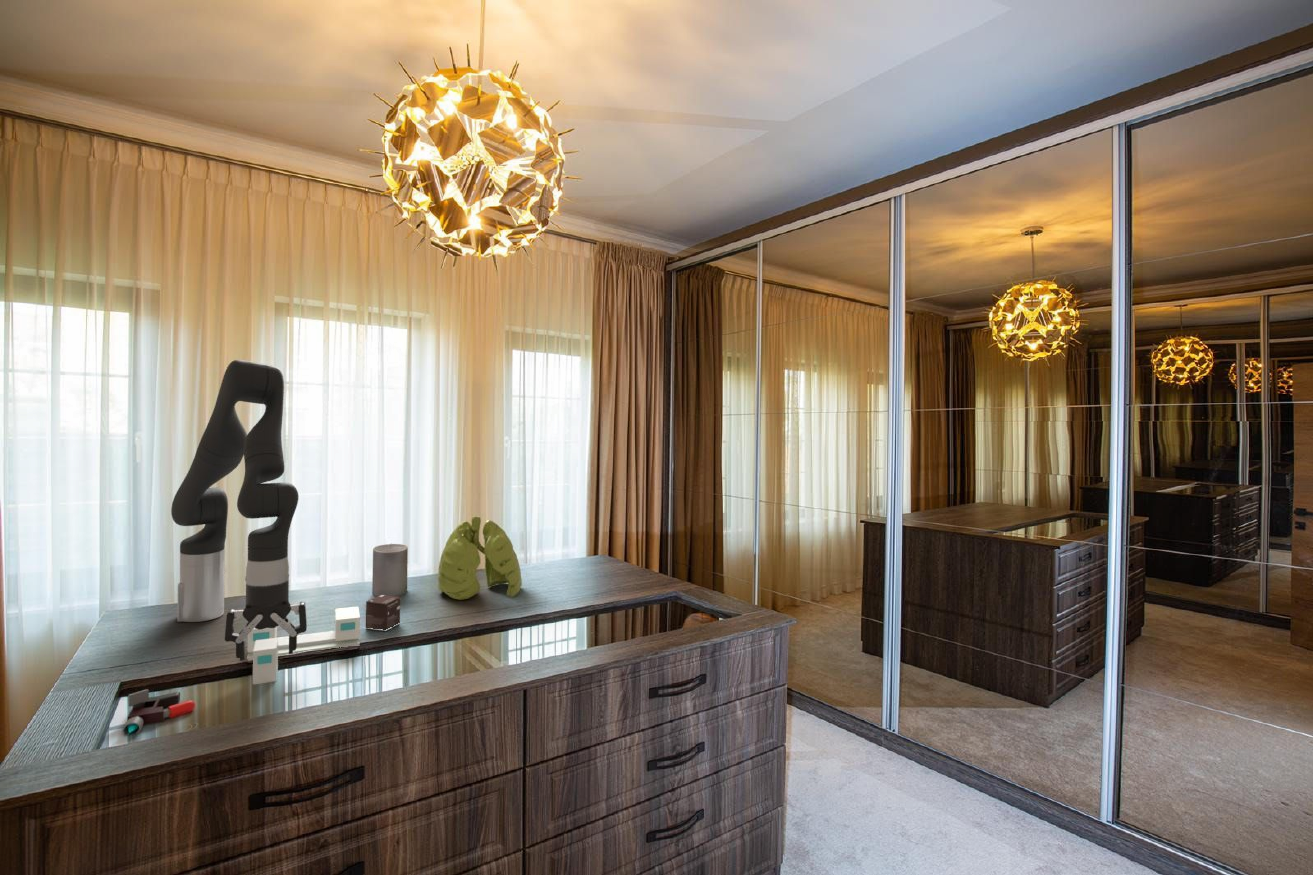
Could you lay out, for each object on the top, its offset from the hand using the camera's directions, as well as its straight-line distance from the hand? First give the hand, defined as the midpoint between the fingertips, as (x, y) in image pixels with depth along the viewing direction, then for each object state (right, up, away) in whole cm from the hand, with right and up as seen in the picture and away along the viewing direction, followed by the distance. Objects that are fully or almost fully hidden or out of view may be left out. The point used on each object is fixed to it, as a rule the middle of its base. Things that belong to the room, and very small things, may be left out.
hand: (266, 655), depth 128 cm
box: (+11, -4, +30) cm, 32 cm away
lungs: (+27, -3, +61) cm, 67 cm away
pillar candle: (+1, -1, +57) cm, 57 cm away
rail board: (-1, -4, +15) cm, 15 cm away
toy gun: (-8, -6, -17) cm, 20 cm away
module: (0, -5, 0) cm, 5 cm away
